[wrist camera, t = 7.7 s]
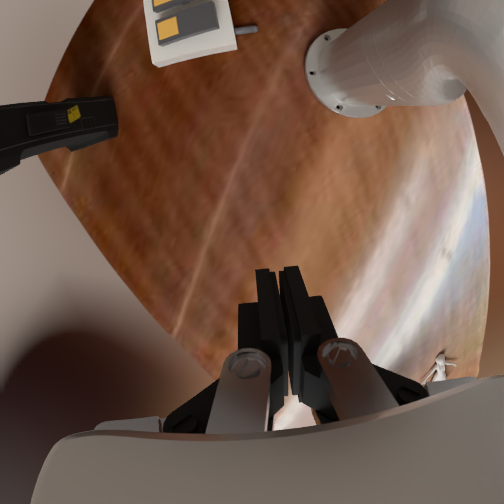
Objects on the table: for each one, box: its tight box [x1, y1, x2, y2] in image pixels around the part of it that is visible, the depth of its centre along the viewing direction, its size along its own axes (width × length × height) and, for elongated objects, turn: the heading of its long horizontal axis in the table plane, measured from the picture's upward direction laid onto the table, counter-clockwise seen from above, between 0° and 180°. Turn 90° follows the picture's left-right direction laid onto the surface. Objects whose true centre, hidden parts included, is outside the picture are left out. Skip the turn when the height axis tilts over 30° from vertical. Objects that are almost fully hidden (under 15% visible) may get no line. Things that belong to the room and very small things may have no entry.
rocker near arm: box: [155, 1, 220, 47], centre depth 23 cm, size 7×4×2 cm, turn 100°
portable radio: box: [0, 96, 118, 175], centre depth 20 cm, size 8×6×25 cm
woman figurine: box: [421, 354, 457, 385], centre depth 57 cm, size 12×4×18 cm
